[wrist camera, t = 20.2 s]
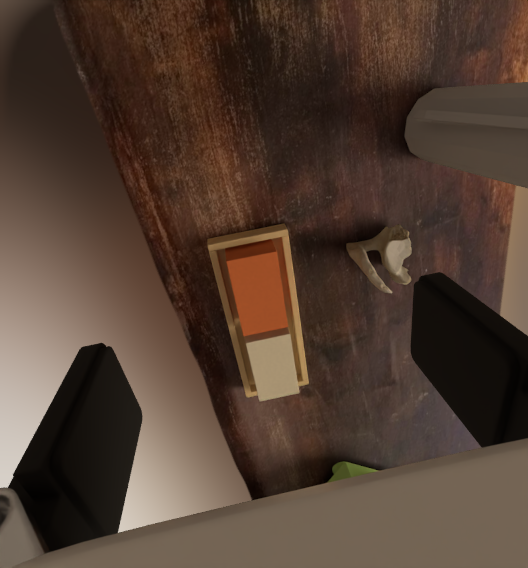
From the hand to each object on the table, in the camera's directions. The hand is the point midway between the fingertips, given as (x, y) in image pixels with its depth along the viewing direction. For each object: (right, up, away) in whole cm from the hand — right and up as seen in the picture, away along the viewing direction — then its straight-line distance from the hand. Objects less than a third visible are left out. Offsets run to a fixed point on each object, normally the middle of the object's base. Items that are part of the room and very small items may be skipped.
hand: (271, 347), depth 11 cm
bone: (+14, +7, +33) cm, 36 cm away
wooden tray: (0, -2, +35) cm, 35 cm away
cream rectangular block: (+1, -7, +37) cm, 38 cm away
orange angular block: (-1, +2, +32) cm, 32 cm away
